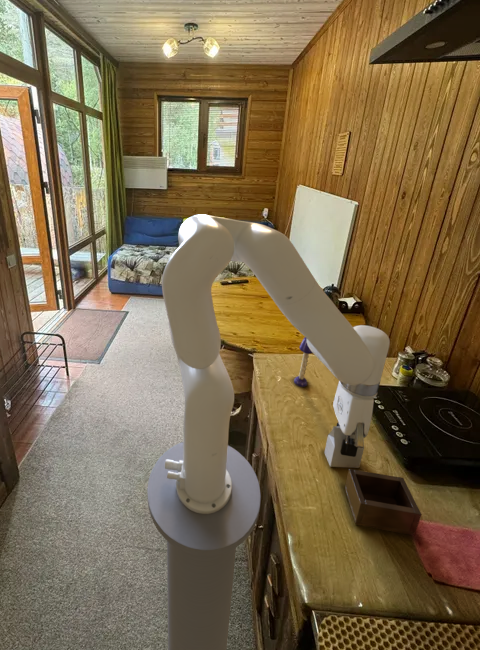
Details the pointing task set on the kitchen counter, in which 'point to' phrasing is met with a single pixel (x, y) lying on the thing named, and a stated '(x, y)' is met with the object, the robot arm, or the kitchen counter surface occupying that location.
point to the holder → (382, 502)
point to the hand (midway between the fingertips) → (344, 445)
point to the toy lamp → (303, 364)
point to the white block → (334, 450)
